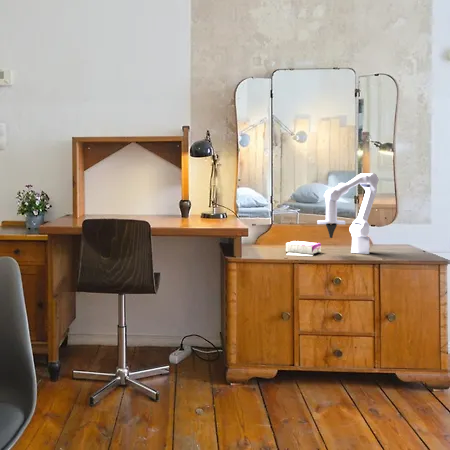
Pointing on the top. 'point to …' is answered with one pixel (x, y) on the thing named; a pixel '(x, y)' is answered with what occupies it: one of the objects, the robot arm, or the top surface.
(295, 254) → the mat
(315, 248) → the candy bar box
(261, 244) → the top surface
